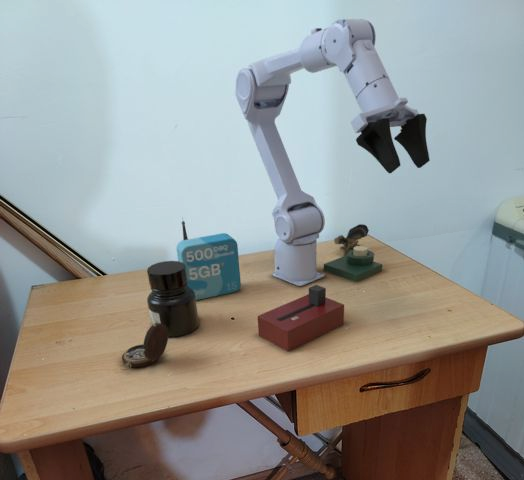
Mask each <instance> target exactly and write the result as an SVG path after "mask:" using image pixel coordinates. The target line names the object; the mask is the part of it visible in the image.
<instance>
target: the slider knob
mask: <svg viewBox="0 0 524 480" xmlns="http://www.w3.org/2000/svg"><path fill="white" fill-rule="evenodd" d="M326 292H327V288H326V287H324V286H321V285H320V284H319V285H318V284H314V285H312V286H309V287H308V294H309V303H311V304H313V305H316V306H320V305H322V304H325V303H326V298H327V297H326V295H327V293H326Z"/></svg>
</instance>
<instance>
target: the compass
mask: <svg viewBox="0 0 524 480" xmlns="http://www.w3.org/2000/svg"><path fill="white" fill-rule="evenodd" d="M168 340H169V336H168V331H167V328H166V326H165V325H163V324H161V323H155V324H152V323H151V325H150V327H149V328H148V330H147V331H146V334H145V336H144V339H143V344H136V345H134V346H131V347H130V348H128V349H126V351H125V352H123V354H122V355H121V360H122V363H123V364H121V365H120V366H119V369H120V370H122V371H127V370H130V369H131V368H143V367H146V366H149V365H151V364H153V363H154V362H156V361H157V360H158V359H159V358H161V356H162V355H163V353H164V352H165V350H166V348H167V345H168ZM123 366H126V367H128V368H122V367H123Z"/></svg>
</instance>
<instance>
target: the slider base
mask: <svg viewBox="0 0 524 480" xmlns="http://www.w3.org/2000/svg"><path fill="white" fill-rule="evenodd" d="M344 320H345V304H343V303H341V302H339V301H336V300H334V299H332V298H329V297H326V303H325V304H322V305H320V306H316V305H313V304H311V303H309V293H308V294H306V295H302V296H301V297H298V298H297V299H294V300H292V301H289V302H287V303H284V304H282V305H280V306H277V307H275V308H273V309H271V310H268V311H266V312H264V313H261V314H259V315H257V329H258V336H259V337H261V338H262V339H265V340H267V341H268V342H270V343H272V344H273V345H275V346H277V347H279V348H281V349H283V350H285V351H286V352H290V351H292V350H294V349H296V348H298V347H300V346H302V345H305V344H306V343H308V342H310V341H312V340H314V339H316V338H319V337H320V336H323V335H324V334H326V333H328V332H330V331H332V330H335V329H336V328H338V327H341V326H342V325H344V324H345V323H344Z"/></svg>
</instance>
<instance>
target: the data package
mask: <svg viewBox="0 0 524 480" xmlns="http://www.w3.org/2000/svg"><path fill="white" fill-rule="evenodd" d="M176 255H177V261H179V262H182V263H184V264H185V267H186V274H187V282H188V284H187V286H188V287H190V288H191V289H192V290H193V291H194V293H195V297H196V301H199V300H204V299H209V298H213V297H217V296H218V297H219V296H223V295H227V294H231V293H235V292H236V293H237V291H239V290H240V288H241V284H242V283H241V269H240V259H239V257H240V256H239V247H238V242H237V241H236V240H235V238H233V237H232V236H231V235H230V234H228V233H226V232H223V233H218V234H217V233H216V234H211V235H205V236H200V237H199V236H198V237H194V238H188V239H187V240H183V239H182V240H179V242H177V244H176Z"/></svg>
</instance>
